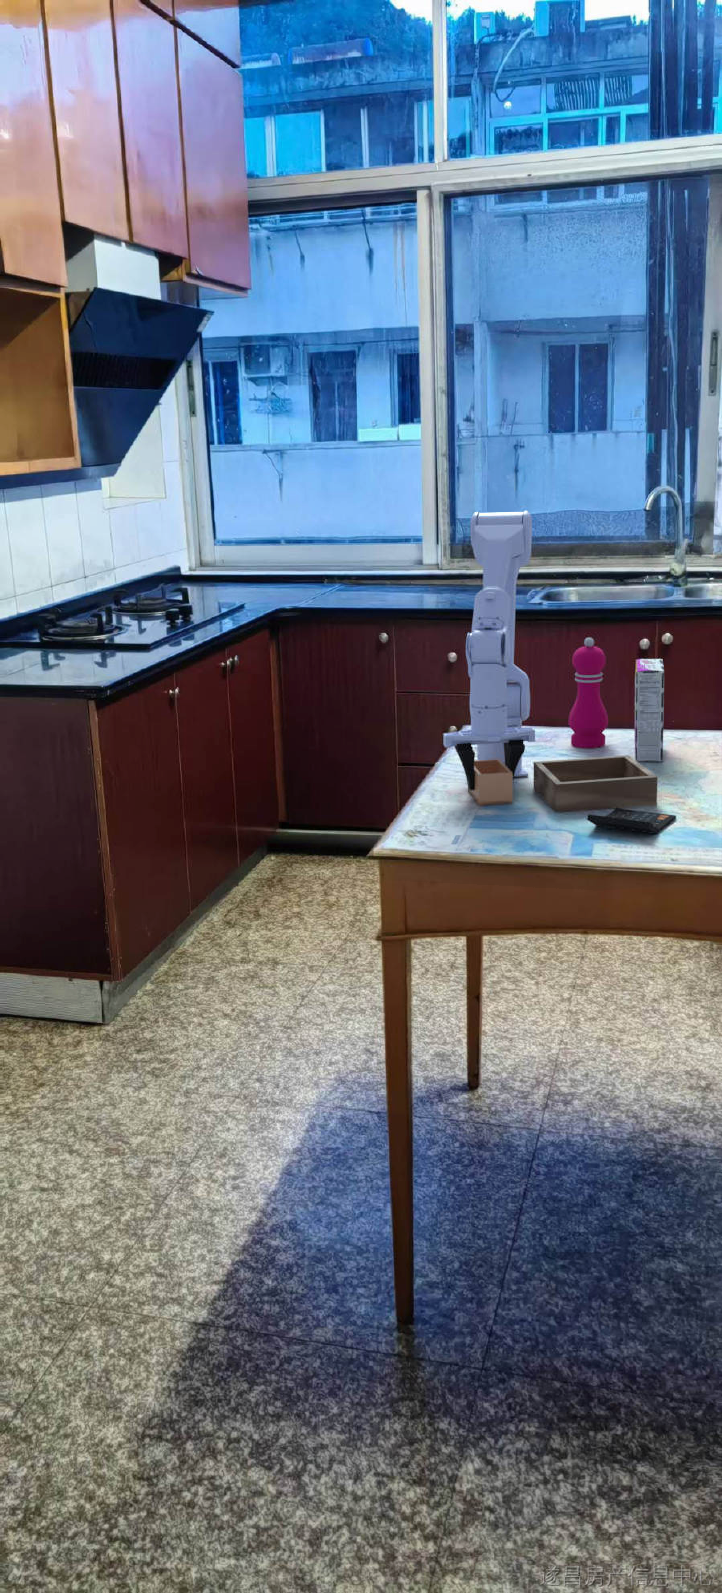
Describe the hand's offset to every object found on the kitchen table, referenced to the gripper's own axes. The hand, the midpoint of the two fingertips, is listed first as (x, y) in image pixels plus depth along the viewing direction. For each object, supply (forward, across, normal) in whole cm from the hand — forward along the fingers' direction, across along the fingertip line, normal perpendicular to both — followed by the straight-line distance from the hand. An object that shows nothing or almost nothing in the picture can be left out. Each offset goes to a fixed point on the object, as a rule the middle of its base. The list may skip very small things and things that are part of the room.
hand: (489, 787), depth 203 cm
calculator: (+2, +17, -20) cm, 26 cm away
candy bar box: (+2, +33, +19) cm, 38 cm away
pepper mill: (+2, +25, +29) cm, 38 cm away
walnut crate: (+2, +16, -4) cm, 17 cm away
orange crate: (+2, 0, 0) cm, 2 cm away
